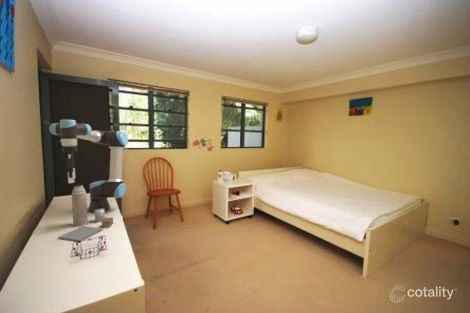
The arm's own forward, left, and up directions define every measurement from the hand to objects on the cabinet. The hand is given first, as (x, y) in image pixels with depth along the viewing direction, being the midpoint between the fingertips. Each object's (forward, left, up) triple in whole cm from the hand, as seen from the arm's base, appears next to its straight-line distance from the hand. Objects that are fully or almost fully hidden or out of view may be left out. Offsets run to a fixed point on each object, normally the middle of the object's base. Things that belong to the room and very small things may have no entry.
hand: (72, 180), depth 131 cm
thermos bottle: (-12, -10, -34) cm, 37 cm away
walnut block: (-14, +10, -34) cm, 38 cm away
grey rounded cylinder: (-20, -2, -34) cm, 39 cm away
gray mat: (0, +4, -34) cm, 34 cm away
